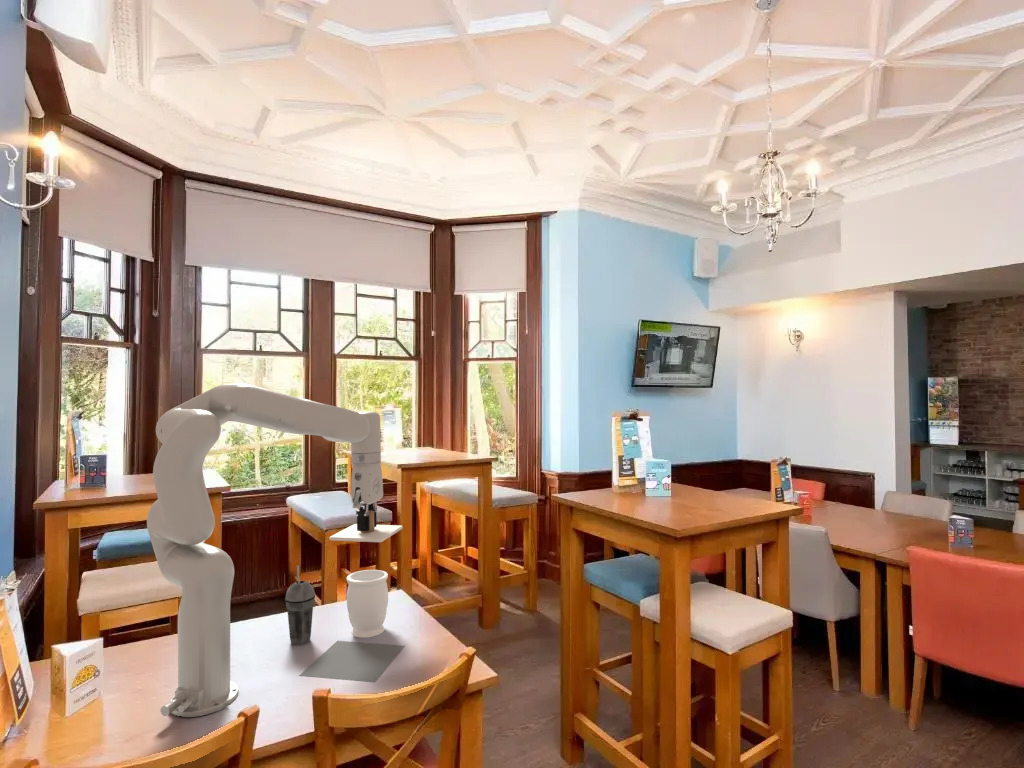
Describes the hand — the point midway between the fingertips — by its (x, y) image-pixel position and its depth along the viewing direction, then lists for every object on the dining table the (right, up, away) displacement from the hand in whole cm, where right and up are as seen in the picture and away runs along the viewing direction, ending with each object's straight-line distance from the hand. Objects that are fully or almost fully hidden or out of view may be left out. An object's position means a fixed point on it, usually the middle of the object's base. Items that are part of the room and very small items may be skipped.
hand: (366, 528), depth 151 cm
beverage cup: (-15, -28, -6) cm, 32 cm away
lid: (0, -2, 0) cm, 2 cm away
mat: (+1, -27, -16) cm, 32 cm away
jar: (0, -28, +1) cm, 28 cm away
